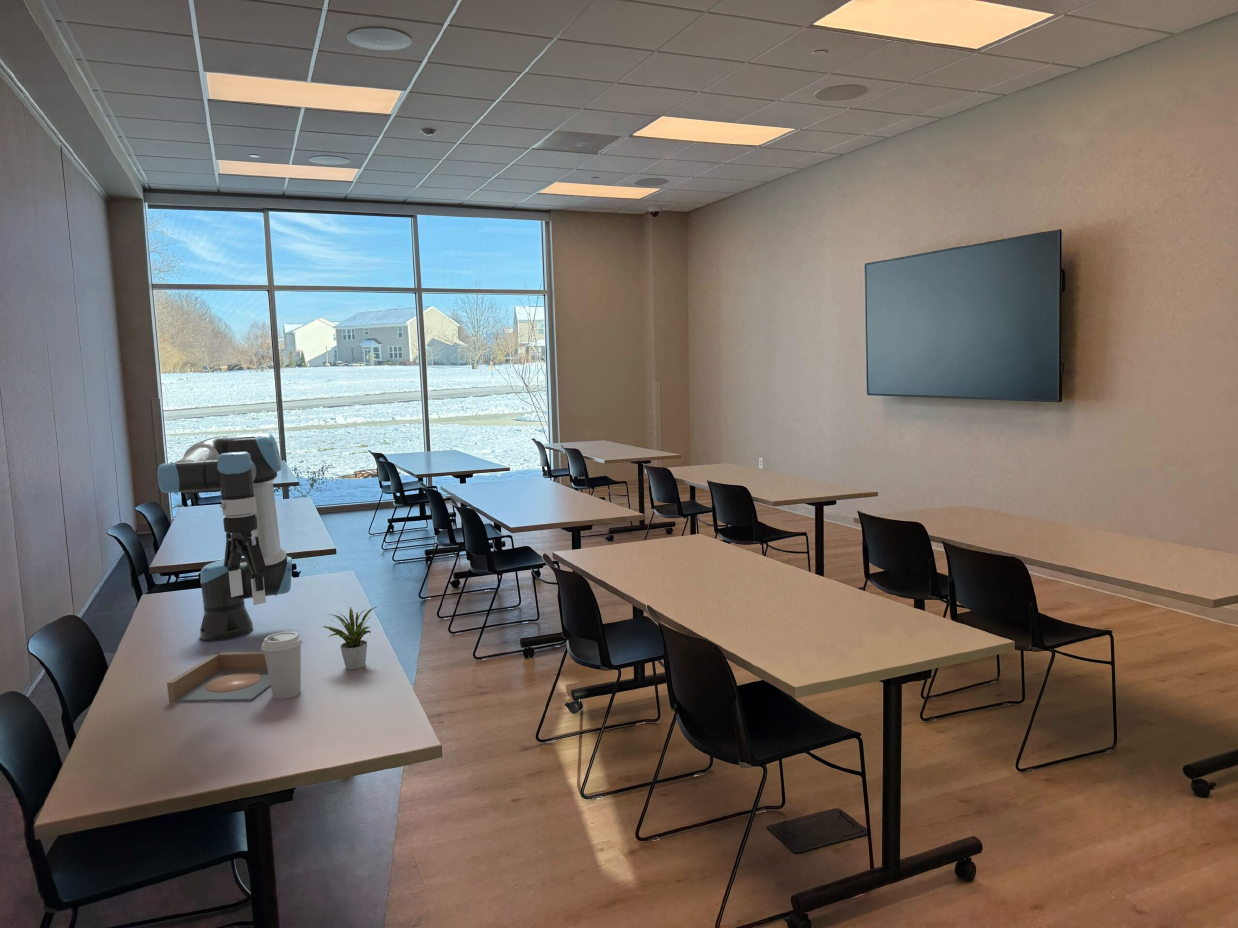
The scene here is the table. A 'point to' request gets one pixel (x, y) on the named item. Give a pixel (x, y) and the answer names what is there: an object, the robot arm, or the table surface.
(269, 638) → the coffee cup
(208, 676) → the tray
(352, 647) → the house plant
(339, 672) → the table surface
